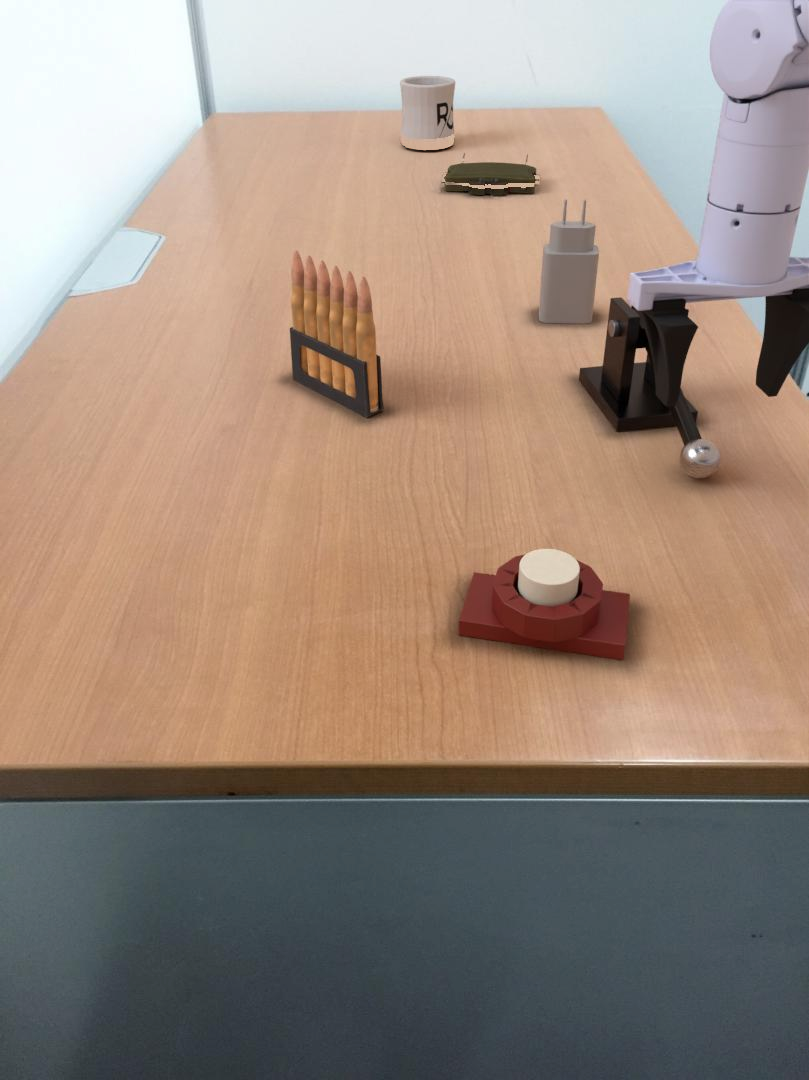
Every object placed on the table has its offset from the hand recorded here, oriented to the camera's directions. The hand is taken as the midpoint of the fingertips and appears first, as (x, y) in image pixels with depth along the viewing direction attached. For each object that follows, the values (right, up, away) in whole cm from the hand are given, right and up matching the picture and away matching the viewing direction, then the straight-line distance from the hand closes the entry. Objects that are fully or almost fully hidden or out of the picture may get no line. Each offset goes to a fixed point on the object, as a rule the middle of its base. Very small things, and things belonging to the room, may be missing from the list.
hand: (716, 395), depth 68 cm
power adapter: (-6, +13, +31) cm, 34 cm away
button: (-14, -13, -10) cm, 22 cm away
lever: (-1, +1, +9) cm, 9 cm away
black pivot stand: (-2, +2, +15) cm, 16 cm away
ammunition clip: (-28, +3, +17) cm, 33 cm away
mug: (-18, +56, +92) cm, 109 cm away
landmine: (-9, +42, +73) cm, 85 cm away
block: (-14, -15, -9) cm, 22 cm away
